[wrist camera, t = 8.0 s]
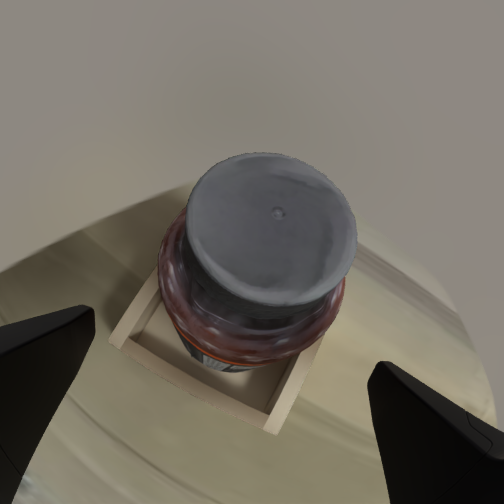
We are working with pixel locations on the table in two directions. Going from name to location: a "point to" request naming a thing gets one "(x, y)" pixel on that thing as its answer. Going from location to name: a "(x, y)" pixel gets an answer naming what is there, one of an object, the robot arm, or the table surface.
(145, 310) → the tray
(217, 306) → the supplement bottle
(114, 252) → the table surface
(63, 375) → the robot arm
